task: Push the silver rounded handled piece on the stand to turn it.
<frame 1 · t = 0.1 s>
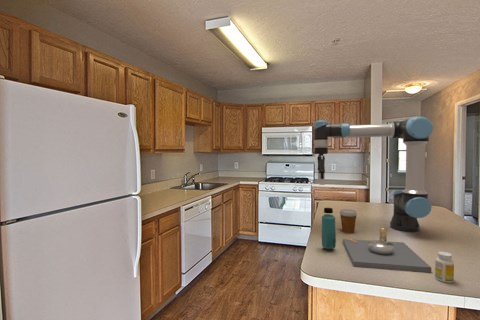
hand: (321, 183, 154), 28 cm above the counter, tool pointing down, fingers open, 13 cm apart
supplement bottle: (444, 280, 95), on the counter
silver rounded handled piece: (381, 239, 121), point 6 cm above the counter, hinge at 0.0°
disposable coffee cup: (348, 231, 152), on the counter
stand: (380, 255, 118), on the counter
beverage bottle: (328, 249, 125), on the counter
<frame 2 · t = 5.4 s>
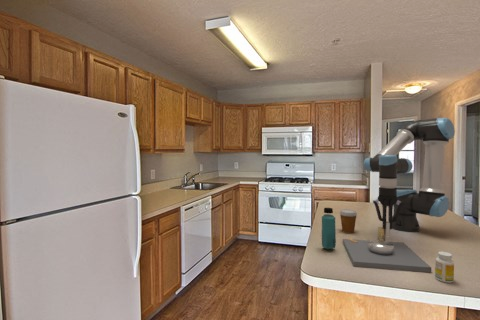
hand: (387, 235, 127), 6 cm above the counter, tool pointing down, fingers closed
silver rounded handled piece: (381, 239, 121), point 6 cm above the counter, hinge at 3.1°
everything else where it was.
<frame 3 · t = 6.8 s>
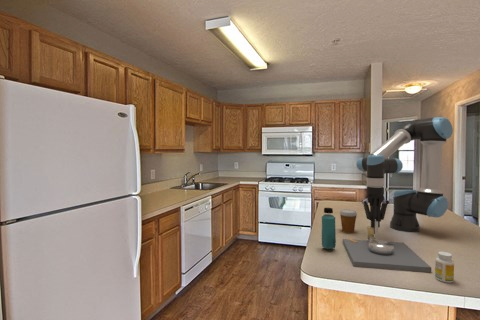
hand: (375, 233, 129), 6 cm above the counter, tool pointing down, fingers closed
silver rounded handled piece: (376, 239, 122), point 6 cm above the counter, hinge at 26.1°, touching gripper
everything else where it was.
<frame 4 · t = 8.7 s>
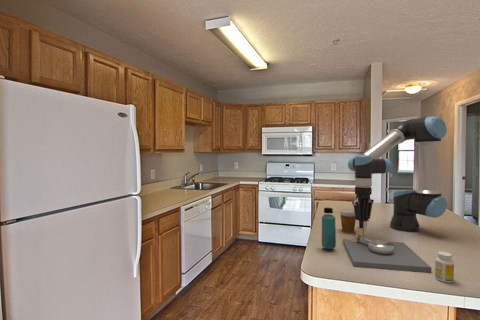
hand: (362, 233, 129), 6 cm above the counter, tool pointing down, fingers closed
silver rounded handled piece: (372, 239, 122), point 6 cm above the counter, hinge at 54.1°, touching gripper
everything else where it was.
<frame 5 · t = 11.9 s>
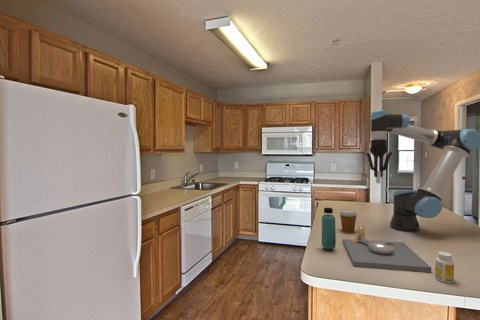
hand: (378, 183, 141), 29 cm above the counter, tool pointing down, fingers closed
silver rounded handled piece: (372, 239, 122), point 6 cm above the counter, hinge at 51.0°
everything else where it was.
at the end: silver rounded handled piece at +51° (first picture: +0°) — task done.
